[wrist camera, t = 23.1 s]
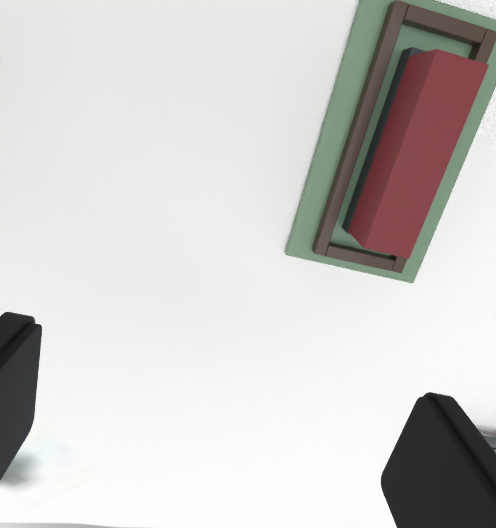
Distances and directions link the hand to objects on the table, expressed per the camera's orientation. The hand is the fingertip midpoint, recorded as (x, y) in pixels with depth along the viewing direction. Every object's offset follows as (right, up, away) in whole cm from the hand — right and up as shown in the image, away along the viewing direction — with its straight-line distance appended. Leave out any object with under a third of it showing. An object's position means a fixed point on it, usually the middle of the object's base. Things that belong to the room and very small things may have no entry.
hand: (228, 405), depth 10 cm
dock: (+12, +13, +24) cm, 30 cm away
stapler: (+12, +12, +23) cm, 29 cm away
